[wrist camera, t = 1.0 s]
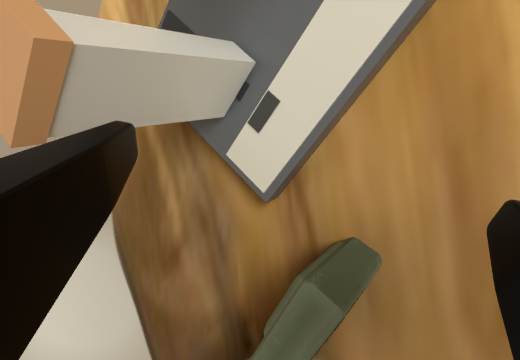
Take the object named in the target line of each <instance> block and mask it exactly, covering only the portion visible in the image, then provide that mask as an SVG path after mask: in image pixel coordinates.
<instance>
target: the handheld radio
mask: <svg viewBox="0 0 520 360" xmlns="http://www.w3.org/2000/svg"><path fill="white" fill-rule="evenodd" d="M381 262H382V260H381V257H380V255H379V254H378V253H377V252H375V251H374V250H373V249H371V248H370V247H368V246H367V245H366V244H364V243H363V242H361V241H360V240H358V239H357V238H355V237H353V238H349V239H346V240H345V241H344V242H340V241H339V242H337V243H335V244H333V245H332V246H330V247H329V248H328V249H327V250H326V251H325V252H324V253H322V254H321V255H320V256H319V257H318V258H317V259H315V260H314V261H313V262H312V263H311V264H310V265H308V266H307V267H306V268H305V269H304V270H303V271H302V272H300V273H299V274H298V275H297V276H296V278H295V279H294V281H293V282H292V284H291V285H290V287H289V288H288V290H287V292H286V293H285V295H284V296H283V298H282V299H281V301H280V302H279V304H278V306H277V307H276V309H275V310H274V312H273V313H272V315H271V316H270V318H269V320H268V321H267V323H266V325H265V328H264V338H263V340H262V341H261V343H260V344H259V346H258V348H257V349H256V351H255V352H254V354H253V355H252V357H251V358H250V360H311V359H312V358H313V357H314V356H315V355H316V353H317V352H318V351H319V350H320V348H321V347H322V345H323V344H324V343H325V342H326V341H327V340H328V338H329V337H330V336H331V334H332V333H333V331H335V330H336V328H337V327H338V326H339V324H340V323H341V322H342V320H343V319H344V318H345V316H346V315H347V313H348V312H349V311H350V309H351V308H352V306H353V305H354V304H355V302H356V301H357V299H358V298H359V297H360V295H361V294H362V293H363V291H364V290H365V288H366V286H367V285H368V284H369V282H370V281H371V279H372V278H373V277H374V275H375V274H376V273H377V271H378V270H379V268H380V266H381Z"/></svg>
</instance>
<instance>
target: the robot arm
mask: <svg viewBox="0 0 520 360" xmlns="http://www.w3.org/2000/svg"><path fill="white" fill-rule="evenodd" d="M137 155H138V149H137V140H136V131H135V127H134V125H133V124H132V123H128V122H123V121H113V122H110V123H106V124H103V125H100V126H97V127H94V128H91V129H88V130H85V131H82V132H79V133H76V134H73V135H70V136H67V137H64V138H61V139H58V140H55V141H51V142H48V143H45V144H42V145H40V146H36V147H33V148H30V149H27V150H24V151H21V152H18V153H15V154H12V155H9V156H6V157H3V158H0V360H19V358H20V357H21V355H22V354H23V352H24V350H25V349H26V347H27V346H28V344H29V342H30V341H31V339H32V338H33V336H34V334H35V333H36V331H37V330H38V328H39V327H40V325H41V323H42V322H43V320H44V319H45V317H46V315H47V313H48V312H49V311H50V309H51V307H52V306H53V304H54V303H55V301H56V299H57V298H58V296H59V295H60V293H61V291H62V290H63V288H64V287H65V285H66V284H67V282H68V280H69V279H70V277H71V276H72V274H73V272H74V271H75V269H76V268H77V266H78V264H79V263H80V261H81V260H82V258H83V257H84V255H85V253H86V252H87V250H88V248H89V247H90V245H91V244H92V242H93V241H94V239H95V237H96V236H97V234H98V233H99V231H100V230H101V228H102V226H103V225H104V223H105V222H106V220H107V218H108V217H109V215H110V213H111V212H112V210H113V208H114V206H115V204H116V202H117V200H118V198H119V196H120V194H121V192H122V190H123V188H124V186H125V183H126V181H127V179H128V177H129V175H130V173H131V171H132V168H133V166H134V164H135V162H136V159H137ZM487 239H488V246H489V253H490V259H491V266H492V273H493V280H494V286H495V291H496V295H497V299H498V303H499V307H500V311H501V314H502V318H503V322H504V325H505V329H506V333H507V337H508V340H509V344H510V348H511V351H512V355H513V359H514V360H520V201H517V200H508V201H507V202H505V203H504V204H503V206H502V207H501V208H500V210H499V211H498V212H497V214H496V215H495V216H494V217H493V219H492V220H491V221H490V223H489V225H488V227H487Z"/></svg>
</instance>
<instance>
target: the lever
mask: <svg viewBox="0 0 520 360" xmlns="http://www.w3.org/2000/svg"><path fill="white" fill-rule="evenodd" d="M255 63H256V62H255V61H254V60H253V59H252V58H251V57H249V56H248V55H247V54H246V53H245V52H244V51H243V50H242V49H241V48H239V47H238V46H237V45H236V44H235V43H234V42H232V41H226V40H220V39H215V38H209V37H203V36H197V35H192V34H186V33H180V32H174V31H169V30H163V29H157V28H152V27H146V26H140V25H134V24H129V23H123V22H117V21H111V20H106V19H100V18H94V17H88V16H83V15H76V14H71V13H65V12H60V11H54V10H48V9H43V8H42V7H41V6H40V5H39V4H38V3H37V1H34V0H0V135H1V136H2V137H3V138H4V140H5V141H6V142H7V144H8V145H9V147H10V148H14V147H22V146H30V145H38V144H45V143H46V141H47V138H48V137H56V136H65V135H73V134H76V133H79V132H82V131H85V130H88V129H91V128H94V127H97V126H100V125H103V124H106V123H110V122H113V121H123V122H128V123H132V124H133V125H134V127H142V126H151V125H160V124H168V123H177V122H186V121H194V120H203V119H211V118H220V117H224V116H225V114H226V112H227V111H228V109H229V107H230V106H231V104H232V102H233V101H234V99H235V97H236V95H237V94H238V92H239V90H240V89H241V87H242V85H243V84H244V82H245V80H246V78H247V77H248V75H249V73H250V72H251V70H252V68H253V67H254V65H255Z"/></svg>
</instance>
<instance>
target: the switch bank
mask: <svg viewBox="0 0 520 360" xmlns="http://www.w3.org/2000/svg"><path fill="white" fill-rule="evenodd" d="M435 1H436V0H169V2H168V5H167V7H166V9H165V12H164V14H163V17H162V19H161V22H160V24H159V27H158V29H163V30H169V31H174V32H180V33H186V34H192V35H197V36H203V37H209V38H215V39H220V40H226V41H232V42H234V43H235V44H236V45H237V46H238V47H239V48H241V49H242V50H243V51H244V52H245V53H246V54H247V55H248V56H249V57H251V58H252V59H253V60H254V61H255V62H256V63H255V65H254V67H253V68H252V70H251V72H250V73H249V75H248V77H247V78H246V80H245V82H244V84H243V85H242V87H241V89H240V90H239V92H238V94H237V95H236V97H235V99H234V101H233V102H232V104H231V106H230V107H229V109H228V111H227V112H226V114H225V116H224V117H220V118H211V119H203V120H194V121H187V122H188V123H189V124H190V125H191V126H192V127H193V128H194V129H195V130H196V131H197V132H198V133H199V134H200V135H201V136H202V138H203V139H204V140H205V141H206V142H207V143H208V144H209V145H210V146H211V147H212V148H213V149H214V150H215V151H216V152H217V153H218V154H219V155H220V156H221V157H222V158H223V159H224V160H225V161H226V162H227V163H228V164H229V165H230V167H231V168H232V169H233V170H234V171H235V172H236V173H237V174H238V175H239V176H240V177H241V178H242V179H243V180H244V181H245V182H246V183H247V184H248V185H249V186H250V187H251V188H252V189H253V190H254V191H255V192H256V193H257V194H258V195H259V197H260V198H261V199H262V200H263V201H264V202H265V203H268V202H269V201H271V200H273V199H275V198H277V197H278V196H279V195H280V194H281V192H282V191H283V190H284V189H285V187H286V186H287V185H288V184H289V182H290V181H291V180H292V179H293V177H294V176H295V175H296V174H297V173H298V171H299V170H300V169H301V168H302V166H303V165H304V164H305V163H306V161H307V160H308V159H309V158H310V156H311V155H312V154H313V153H314V151H315V150H316V149H317V148H318V146H319V145H320V144H321V143H322V141H323V140H324V139H325V138H326V137H327V135H328V134H329V133H330V132H331V130H332V129H333V128H334V127H335V125H336V124H337V123H338V122H339V120H340V119H341V118H342V117H343V115H344V114H345V113H346V112H347V110H348V109H349V108H350V107H351V106H352V104H353V103H354V102H355V101H356V99H357V98H358V97H359V96H360V94H361V93H362V92H363V91H364V89H365V88H366V87H367V86H368V84H369V83H370V82H371V81H372V79H373V78H374V77H375V76H376V74H377V73H378V72H379V71H380V70H381V68H382V67H383V66H384V65H385V63H386V62H387V61H388V60H389V58H390V57H391V56H392V55H393V53H394V52H395V51H396V50H397V48H398V47H399V46H400V45H401V43H402V42H403V41H404V40H405V38H406V37H407V36H408V35H409V34H410V32H411V31H412V30H413V29H414V27H415V26H416V25H417V24H418V22H419V21H420V20H421V19H422V17H423V16H424V15H425V14H426V12H427V11H428V10H429V9H430V7H431V6H432V5H433V4H434V3H435Z"/></svg>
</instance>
